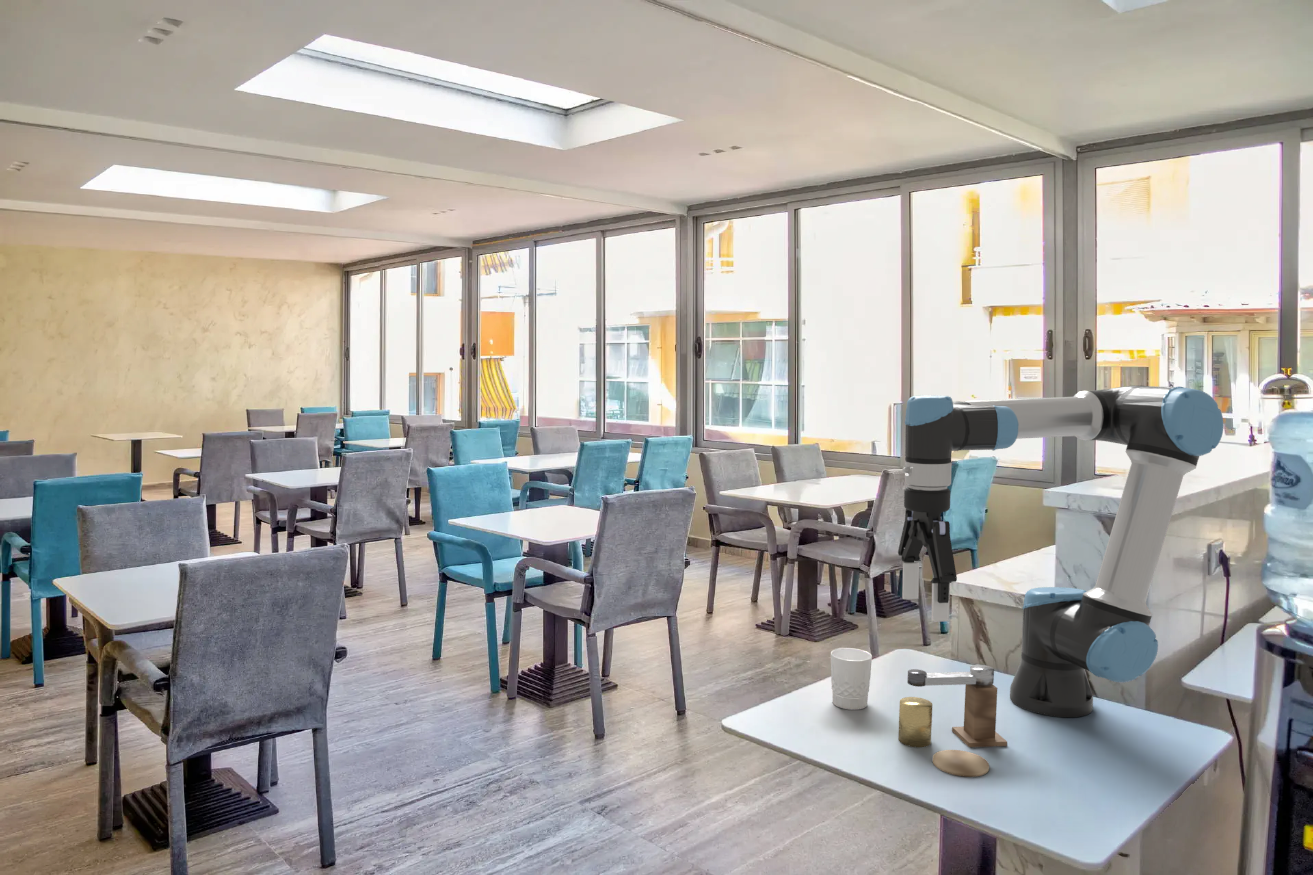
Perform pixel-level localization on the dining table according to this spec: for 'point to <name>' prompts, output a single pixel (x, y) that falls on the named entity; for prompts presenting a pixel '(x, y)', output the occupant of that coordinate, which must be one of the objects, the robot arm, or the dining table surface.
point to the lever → (952, 677)
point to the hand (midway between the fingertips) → (924, 609)
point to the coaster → (960, 763)
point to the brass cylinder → (915, 722)
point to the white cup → (850, 677)
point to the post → (980, 717)
